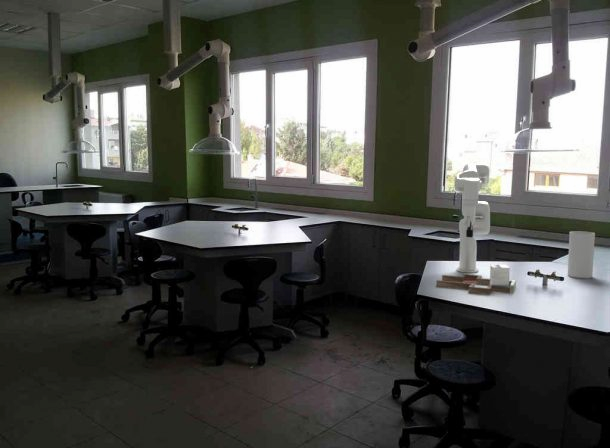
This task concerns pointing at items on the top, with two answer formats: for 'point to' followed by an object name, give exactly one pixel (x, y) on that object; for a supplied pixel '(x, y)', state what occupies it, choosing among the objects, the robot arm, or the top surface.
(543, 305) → the top surface
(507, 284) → the ink box
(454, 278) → the trap lane
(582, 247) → the cylinder vase
